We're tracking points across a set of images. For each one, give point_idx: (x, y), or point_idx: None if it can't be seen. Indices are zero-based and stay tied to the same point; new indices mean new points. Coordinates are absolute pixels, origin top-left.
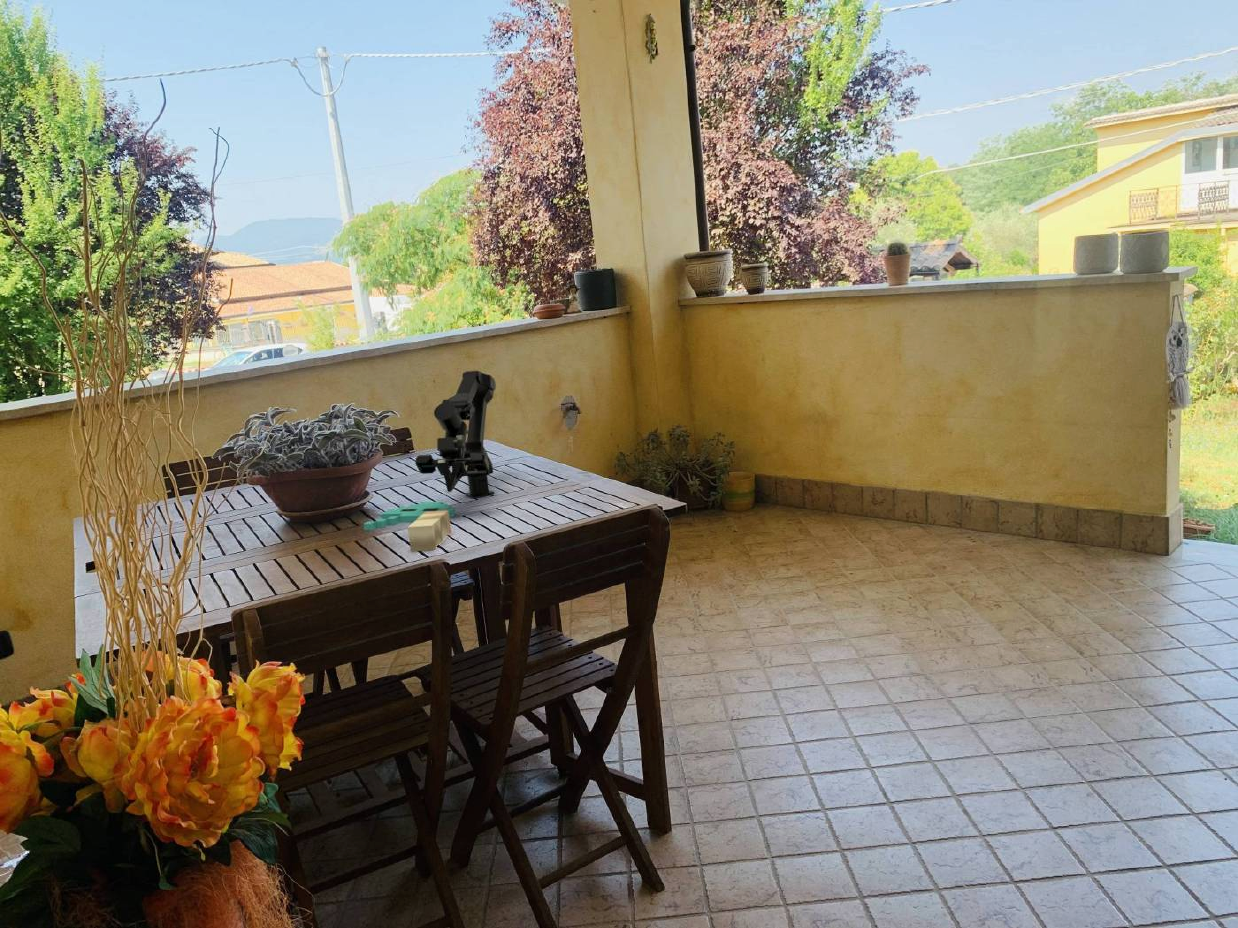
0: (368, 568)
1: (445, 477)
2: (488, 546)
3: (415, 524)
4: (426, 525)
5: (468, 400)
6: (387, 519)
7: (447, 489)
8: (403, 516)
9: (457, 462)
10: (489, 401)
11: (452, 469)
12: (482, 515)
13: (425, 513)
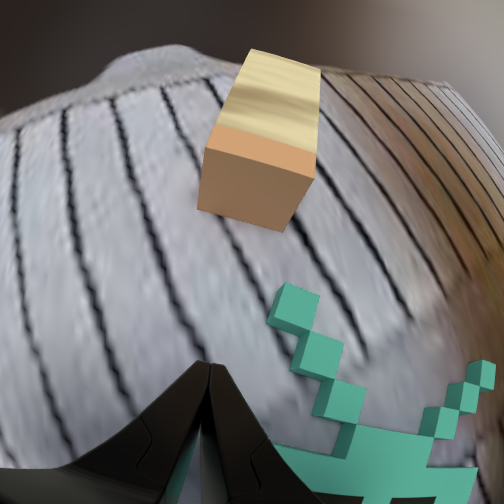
0: (352, 86)
1: (257, 441)
2: (113, 79)
3: (305, 76)
4: (267, 56)
5: None
6: (456, 410)
7: (223, 366)
8: (418, 435)
9: None
10: None
11: (143, 500)
12: (68, 408)
13: (306, 156)
